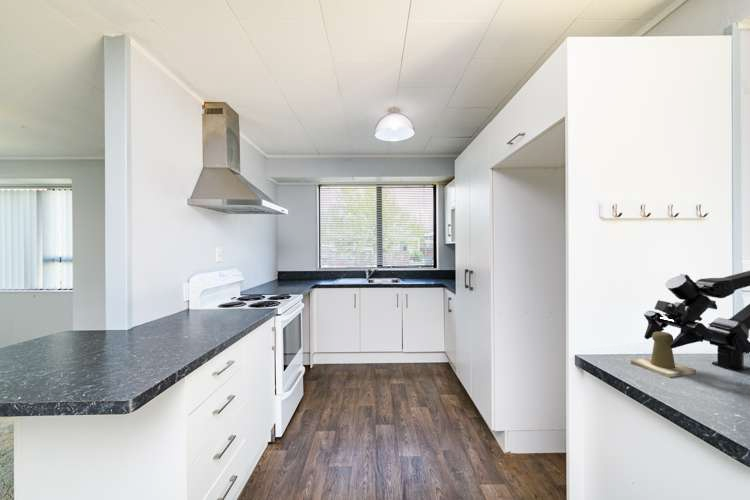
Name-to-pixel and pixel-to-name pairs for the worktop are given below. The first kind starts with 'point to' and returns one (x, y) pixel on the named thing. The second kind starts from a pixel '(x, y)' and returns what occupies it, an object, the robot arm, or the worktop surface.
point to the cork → (662, 350)
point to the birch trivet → (664, 371)
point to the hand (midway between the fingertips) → (657, 342)
